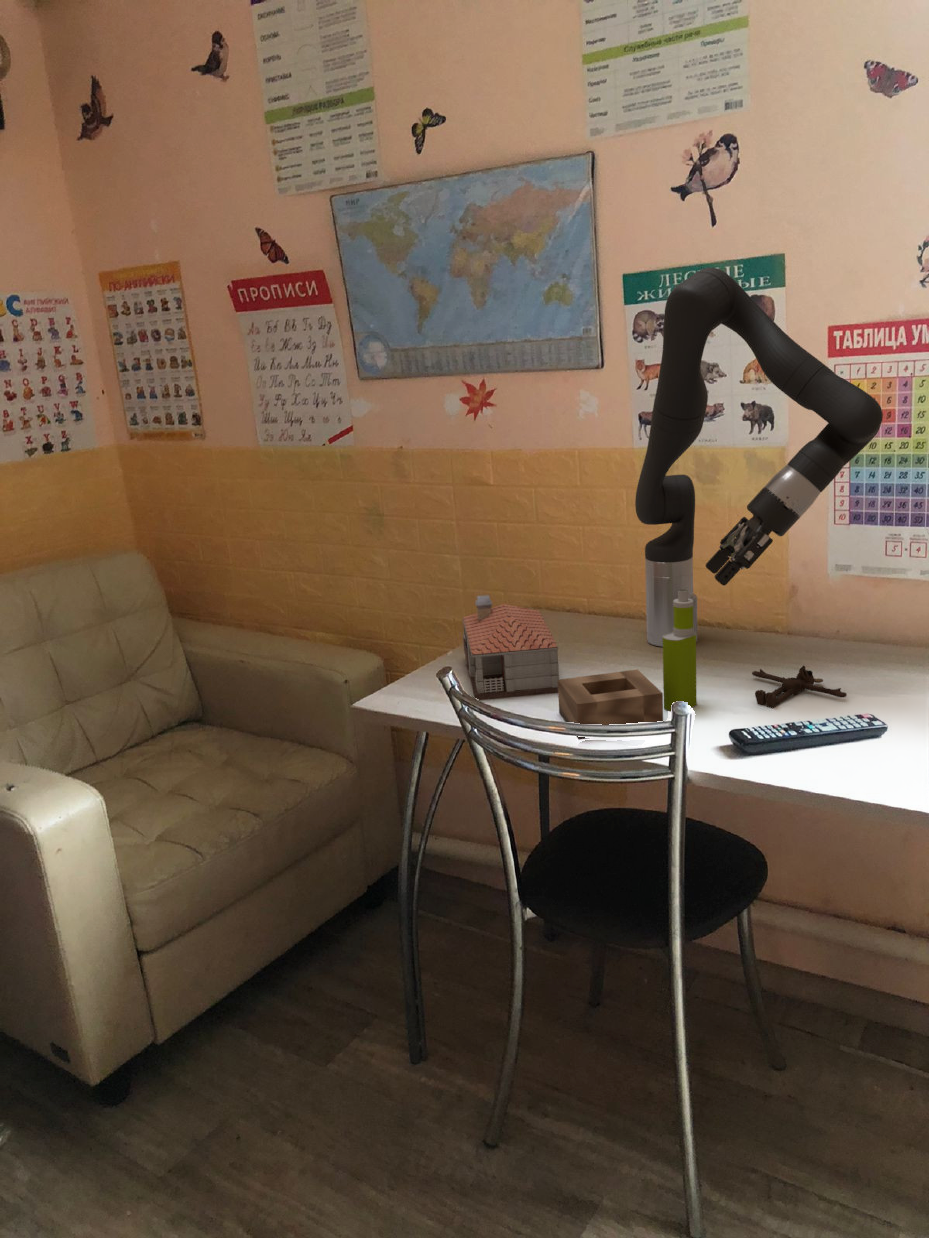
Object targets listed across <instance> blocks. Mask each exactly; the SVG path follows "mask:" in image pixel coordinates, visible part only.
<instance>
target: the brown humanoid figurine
mask: <svg viewBox="0 0 929 1238" xmlns="http://www.w3.org/2000/svg"><path fill="white" fill-rule="evenodd" d="M751 675H752V676H754V677H756V678H760V679H766V680H770V681H773V682H777V683H781V686H779V687H778V688H775V689H774V691H772V692H766V691H765V690H763V689H760V690H756V691H755V693H754V696H755V700H756V704H757V705H758V706H765V705H766V707H767V708H770V709H774V708H775V707H777V706H779V705H780V704H781V703H783V702H785V701H786V700H787V699H788V698H790V697H792V696H796V695H798V694H799V693H800V692H801V691H805V690H808V691H811V692H813V691H814V692H817V693H822V694H827V695H831V696H834V697H837V698H841V699H843V698H846V697H847V694H848V693H846V692H844V691H842V688H835V689H833V688H827V687H824V686H818V685H814V684H815V683H817V684H820V683H823V682H824V679H822V678H815V677H814V675H813V671H812V670H808V669H806V666H805V665H802V666H801V667H800V668H799V670H798V673H797V675H796V676H795V677H787V678H785V676H782V677H780V676H777V675H773V674H770V673H768V672H767V673H766V672H765V671H764V670H763V669H762V668H760V669H759V670H758V671H757V670H754V671H752V672H751Z"/></svg>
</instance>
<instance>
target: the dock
mask: <svg viewBox="0 0 929 1238" xmlns="http://www.w3.org/2000/svg"><path fill="white" fill-rule="evenodd" d="M557 695H558V713H559V715H560V717H561V718H562V719H563V720H564V722H565V723H566V722H574V723H580V724H602V725H609V724H626V723H638V722H657V721H663V722H664V692H662V691H661V690H660V689H659V687H657V686H656V685H655V684H654V683H653V682H651V680H649V679H648V678H647V677H646V675H644V673H642V672H641V670H639V669H632V670H631V669H630V670H621V671H615V672H608V673H607V672H606V673H599V674H592V675H584V676H574V677H569V678H561V679H560V678H559V680H558V693H557ZM575 736H576V735H575ZM576 738H577V739H578V741H580V740H588V739H589V738H585V737H578V736H576Z"/></svg>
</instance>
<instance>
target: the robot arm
mask: <svg viewBox="0 0 929 1238" xmlns="http://www.w3.org/2000/svg"><path fill="white" fill-rule="evenodd" d="M720 325H723V326H724V327H727V328H728V329H730V330H732V331H733V332H735V334H737V335H738V336H739V337H741V338H742V340H744V342H745V343H746V344H747V345H748V347H749V349H751V352H752V353H753V355H754V357H755V359H756V360H757V362H758V364H759V367H760V368H761V370H762V372H763V374H764V375H765V376H766V378H767V379H768V380H769V381H770V382H771V383H772V385H774V387H776V388H777V389H778V390H779V391H781V392H782V393H783V394H785V396H787V397H789V399H791V400H792V401H794V403H795V402H796V404H798V405H799V406H801V407H802V408H804V409H806V410H808V411H812V412H814V413H815V414H817V415H818V416H819V417H820V418H821V419H823V421H825V422H827V424H826V425H825V426H824V427H823V428H822V430H821V431H820V432H819V433H818V434H817V435H816V436H815V437H814V438H813V439H812V440H809V441H808V442H807V443H805V445H803V446H802V447H801V448H800V449H799V450H798V452H797V453H796V454H795V455H794V456H793V457H792V458H791V459H790V460H789V461H788V463H786V464H785V465H784V466H783V467H782V468H781V469H780V470H779V471H778V472H776V473H775V474H774V476H773V477H771V479H770V480H769V481H768V482H767V483H766V484H765V485H764V487H762V489H760V491H759V492H758V493H757V494H756V495H755V496H754V498H752V499H751V500H750V501H749V503H748V504H747V506H746V509H747V511H748V512H749V513H750V514H752V517H751V518H749V519H748V518H747V517H746V516H743V517H741V518H740V520H739V521H738V522H737V523H736V524H735V525H734V527H732V528H731V530H730V531H728V532H727V534H726V535H725V536H724V537H723V538H722V539H721V540H720V542H719V544H720V545H719V549H718V550H717V551H716V553H714V555H713V556H711V557H710V559H709V560H708V561H707V562H706V563H705V568H706V569H707V570H709V571H710V573H712V574H713V575H714V579H715V580H716V582H718V583H719V584H720V585H721V586H723V587H725V586H727V585H728V584H729V582H731V580H732V579H733V578H734V577H735V576H736V575H737V574H738V573H739V572H740V571H741V570H745V569H747V570H748V569H750V568H751V567H752V565H753V564H754V563H755V562H756V561H757V560H758V558H760V556H762V555H763V553H764V552H765V551H766V550H767V549H768V548H769V547H770V546H771V544H772V543H773V541H774V539H773V538H771V537H770V534H771V533H772V532H773V534H775V535H777V537H784V536H785V535H786V533H787V532H788V531H789V530H790V529H792V527H793V526H794V525H795V524H796V523H797V521H798V520H800V518H801V517H802V516H803V515H804V514H805V513H806V512H807V511H808V510H809V509H810V507H812V505H813V504H814V503H815V501H816V500H817V499H818V497H819V496H820V495H821V493H822V492H823V491H825V489H826V488H827V487H828V486H829V485H830V484H831V482H832V481H833V480H834V479H835V478H836V477H837V476H838V475H839V473H840V472H841V471H842V469H843V468H844V467H845V466H846V465H847V464H848V463H849V462H851V460H853V459H854V458H855V457H856V456H857V455H858V454H859V453H860V452H861V451H863V449H864V448H865V447H867V445H868V444H870V442H871V441H872V440H874V438H875V437H876V435H877V434H878V433H879V431H880V428H881V426H882V422H883V416H884V413H883V409H882V407H881V404H880V403H879V402H878V401H877V400H876V399H875V398H874V397H873V396H871V395H870V394H869V393H868V392H867V391H865V390H863V389H862V388H860V387H858V386H857V385H855V384H854V383H851V382H850V381H849V380H847V379H845V378H843V377H841V376H839V375H838V374H837V373H836V372H834V370H832V369H831V368H829V367H828V366H827V365H826V364H825V363H823V362H822V361H820V360H819V359H818V358H816V357H815V356H814V355H812V354H811V353H810V352H808V351H807V350H806V349H805V348H803V347H802V346H801V345H799V344H798V343H797V342H796V341H794V339H792V338H791V337H790V336H789V335H788V334H787V333H786V332H785V331H783V330H782V328H781V327H779V325H777V323H776V322H775V321H773V319H772V318H771V317H770V316H769V315H768V314H767V312H765V311H764V309H762V307H760V305H758V303H756V302H755V300H754V299H753V298H752V297H751V296H750V295H749V294H748V293H747V292H746V290H744V288H743V287H742V286H741V285H740V284H739V283H738V282H737V281H736V280H735V279H734V278H733V277H732V276H730V275H729V274H728V273H727V272H725V271H724V270H722V269H720V268H716V267H706V268H702V269H700V270H698V271H697V272H695V273H694V274H691V275H690V276H689V277H687V278H686V279H684V280H683V281H681V282H680V283H678V285H676V286H675V287H673V288H672V290H671V292H670V293H669V294H668V296H667V299H666V302H665V307H664V318H663V337H662V353H661V361H660V366H659V367H660V368H659V372H658V380H657V386H656V391H655V396H654V401H653V405H652V406H653V407H652V413H651V420H650V428H649V435H648V443H647V449H646V452H645V456H644V460H643V464H642V466H641V467H642V468H641V471H640V475H639V478H638V482H637V485H636V491H635V500H634V501H635V503H634V506H635V514H636V516H637V518H638V520H639V521H640V523H642V524H644V525H648V526H650V525H651V526H657V525H667V524H671V526H670V527H669V529H667V530H666V531H665V532H664V533H662V534H661V535H659V536H657V537H655V538H653V539H651V540H649V541H648V542H647V543H646V544H645V547H644V562H645V563H644V564H645V567H644V571H645V574H644V575H645V608H646V609H645V610H646V611H645V613H646V614H645V616H646V641H647V643H648V644H650V645H652V646H657V647H662V648H663V635H666V634H668V633H671V632H673V627H674V606H673V601H674V600H675V599H678V590H680V589H687V590H688V598H689V599H692V600H693V627H694V632H695V633H696V643H697V642H698V596H697V595H696V594H695V593H694V566H693V565H694V561H693V560H694V557H693V556H694V543H695V515H696V489H695V486H694V485H695V484H694V483H693V479H692V478H691V477H690V476H689V475H686V474H673V475H672V474H670V475H667V473H668V472H669V470H670V468H671V467H672V466H673V465H674V463H675V462H677V460H678V459H679V458H680V457H681V456H682V455H683V454H684V453H685V452H686V451H687V450H688V449H689V448H690V447H691V446H692V445H693V444H694V442H695V441H696V439H697V438H698V437H699V436H700V434H701V431H702V430H703V426H704V423H705V422H704V421H705V417H706V412H707V408H708V400H709V395H708V394H709V393H708V388H707V386H706V382H705V380H704V376H703V375H702V371H701V367H702V366H701V365H702V359H703V355H704V350H705V346H706V343H707V340H708V338H709V336H710V334H711V333H712V331H714V330H715V329H716V328H717V327H719V326H720Z"/></svg>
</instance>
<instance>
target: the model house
mask: <svg viewBox="0 0 929 1238" xmlns="http://www.w3.org/2000/svg"><path fill="white" fill-rule="evenodd" d="M474 602H475V606H476V613H473V614H470V615H466V616H463V617H462V623H463V625H462V626H463V633H462V641H463V642H462V643H463V651H464V655H465V663H466V666H467V671H468V675H469V679H470V684H471V689H472V693H473V697H475V698H477V699H479V700H478V701H485V700H487V701H488V700H496V699H499V700H500V699H508V698H509V699H510V698H518V697H529V696H540V695H541V696H542V695H552V694H553V695H554V694H558V680H559V679H560V673H559V672H560V671H559V653H558V652H559V651H558V650H559V647H558V644H557V642H556V640H555V639H554V637H553V634H552V633H551V631H550V629H549V627H548V625H547V623H546V621H545V620H544V617H543V615H542V614H541V612H540V610H536V609H531V608H526V607H521V606H515V605H510V604H506V603H503V604H501V605H497V606H494V607H493V602H492V599H491V598H490V595H489V594H488V595H487V594H485V595H477V596H476V600H475V601H474ZM475 698H474V699H475Z"/></svg>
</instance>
